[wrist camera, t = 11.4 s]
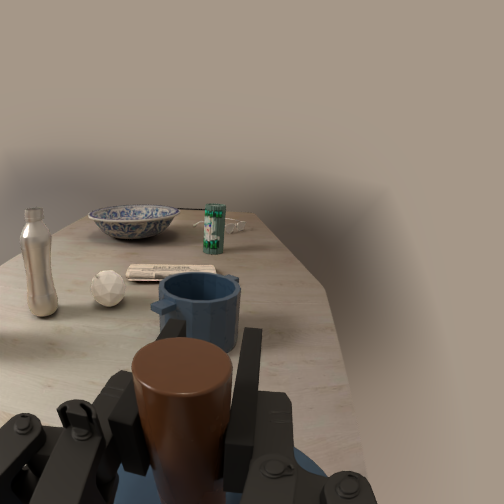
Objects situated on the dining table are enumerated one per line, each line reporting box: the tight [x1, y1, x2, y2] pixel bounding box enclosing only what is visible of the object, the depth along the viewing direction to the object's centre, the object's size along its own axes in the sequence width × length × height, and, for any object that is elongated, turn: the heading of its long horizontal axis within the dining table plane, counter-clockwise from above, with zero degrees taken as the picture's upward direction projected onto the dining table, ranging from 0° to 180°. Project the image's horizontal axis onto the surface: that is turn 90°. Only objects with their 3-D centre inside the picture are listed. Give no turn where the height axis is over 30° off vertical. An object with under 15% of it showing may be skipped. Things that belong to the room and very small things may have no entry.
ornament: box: [90, 270, 126, 307], centre depth 58 cm, size 7×7×8 cm
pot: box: [151, 272, 241, 353], centre depth 50 cm, size 13×18×10 cm
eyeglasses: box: [193, 218, 246, 233], centre depth 138 cm, size 15×18×4 cm
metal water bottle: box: [20, 207, 58, 317], centre depth 48 cm, size 6×7×20 cm
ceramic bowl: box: [88, 205, 180, 239], centre depth 111 cm, size 34×34×10 cm
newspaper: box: [126, 264, 217, 281], centre depth 78 cm, size 23×12×2 cm, turn 102°
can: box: [203, 204, 226, 254], centre depth 100 cm, size 6×6×15 cm
